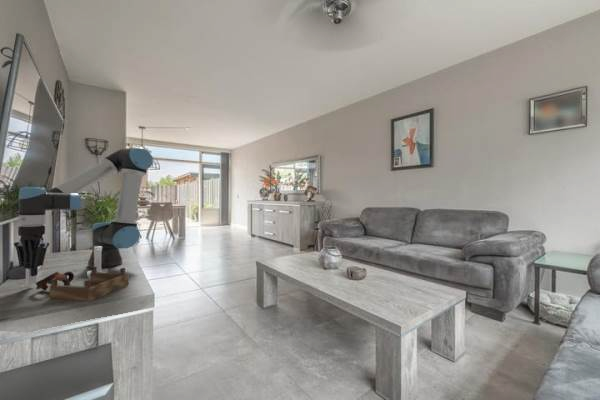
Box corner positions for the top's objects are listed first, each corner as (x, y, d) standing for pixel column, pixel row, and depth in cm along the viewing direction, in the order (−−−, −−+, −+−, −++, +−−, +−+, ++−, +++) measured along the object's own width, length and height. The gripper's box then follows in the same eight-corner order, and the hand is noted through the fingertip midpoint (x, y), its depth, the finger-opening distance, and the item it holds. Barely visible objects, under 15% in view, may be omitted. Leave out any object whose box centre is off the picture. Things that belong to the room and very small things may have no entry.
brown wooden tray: (92, 282, 112) (93, 266, 112) (128, 284, 111) (128, 268, 111) (49, 298, 94) (50, 279, 94) (91, 300, 93) (91, 281, 93)
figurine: (107, 275, 122) (107, 244, 122) (107, 281, 115) (108, 247, 115) (87, 278, 118) (87, 245, 118) (86, 284, 110) (87, 248, 110)
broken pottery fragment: (57, 296, 98) (43, 278, 96) (39, 305, 99) (25, 288, 97) (85, 279, 109) (73, 262, 107) (68, 287, 111) (56, 271, 109)
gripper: (6, 225, 101) (4, 286, 101) (36, 226, 100) (35, 287, 100) (27, 224, 109) (26, 280, 109) (56, 225, 107) (55, 281, 108)
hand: (30, 283), depth 104 cm, fingers closed
